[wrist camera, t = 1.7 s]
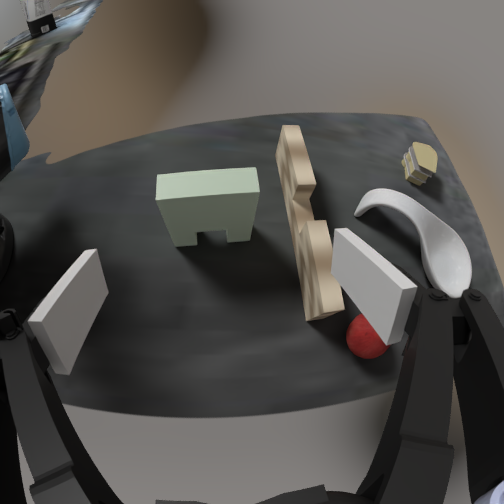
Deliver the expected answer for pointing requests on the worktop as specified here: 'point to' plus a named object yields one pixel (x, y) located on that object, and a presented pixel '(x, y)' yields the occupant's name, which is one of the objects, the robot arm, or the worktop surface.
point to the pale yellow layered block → (419, 163)
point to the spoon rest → (429, 241)
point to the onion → (364, 339)
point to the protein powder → (38, 16)
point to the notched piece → (208, 203)
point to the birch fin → (307, 228)
